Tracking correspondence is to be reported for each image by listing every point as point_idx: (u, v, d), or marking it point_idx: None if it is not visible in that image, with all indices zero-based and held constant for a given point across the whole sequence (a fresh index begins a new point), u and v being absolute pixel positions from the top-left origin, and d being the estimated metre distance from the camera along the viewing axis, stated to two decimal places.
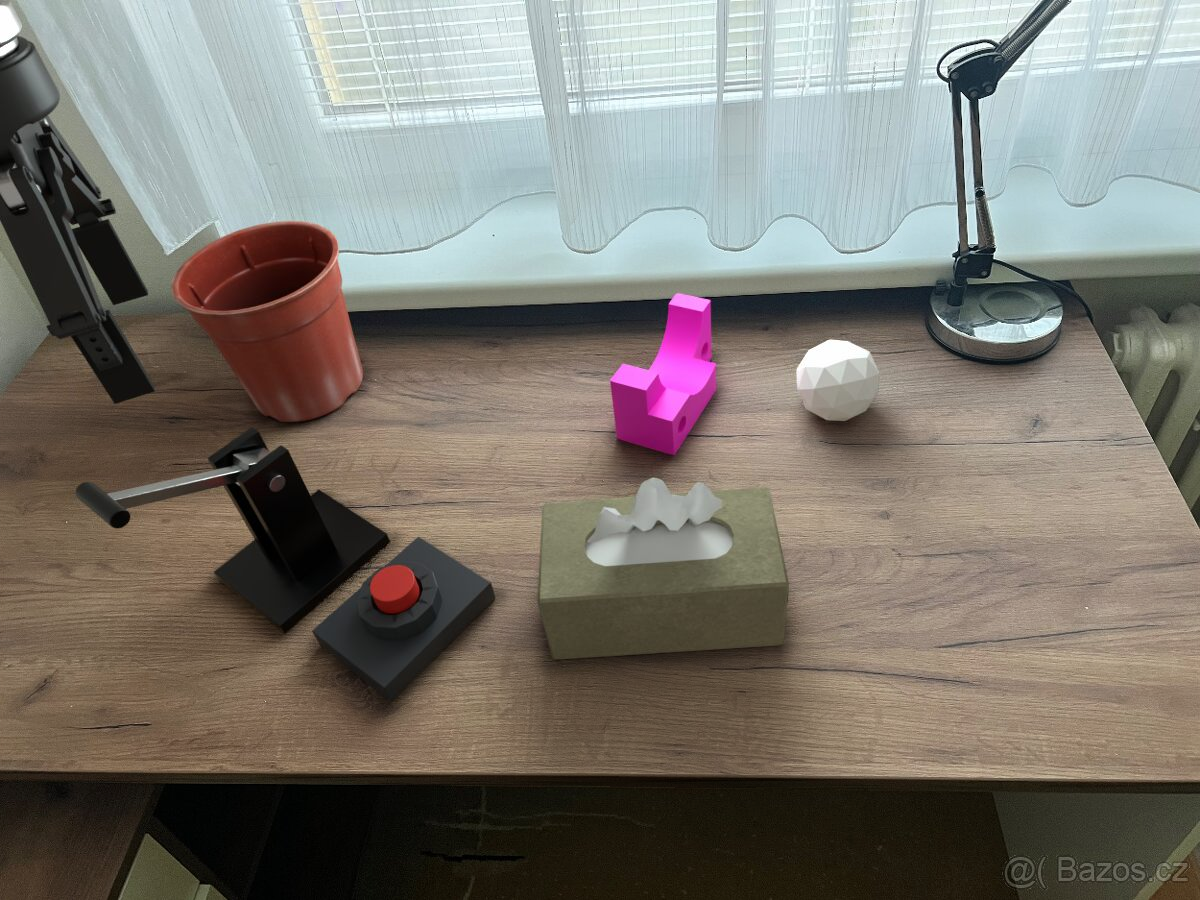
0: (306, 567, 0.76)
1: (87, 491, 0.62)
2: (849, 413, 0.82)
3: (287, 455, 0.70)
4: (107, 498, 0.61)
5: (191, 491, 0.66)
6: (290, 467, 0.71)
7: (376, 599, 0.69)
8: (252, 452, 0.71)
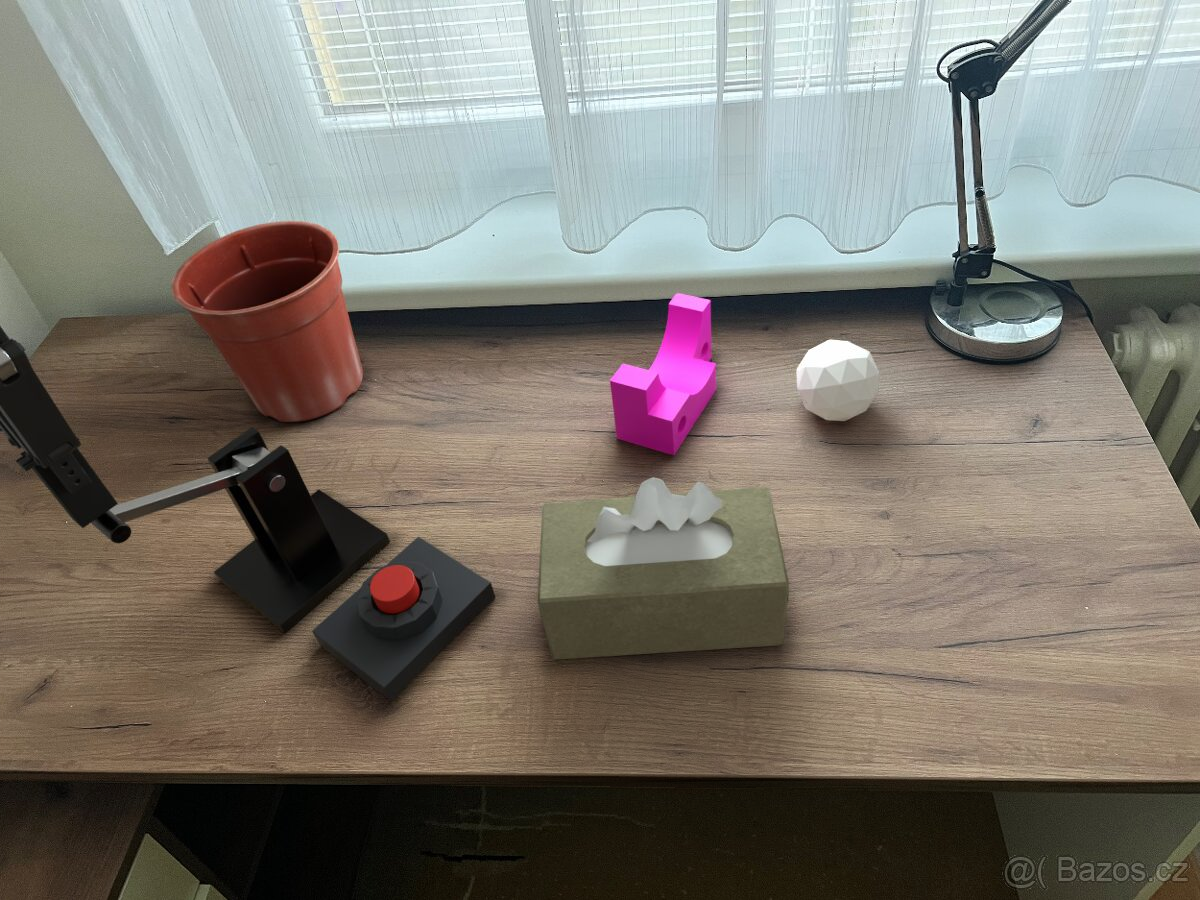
0: (306, 567, 0.76)
1: None
2: (849, 413, 0.82)
3: (287, 455, 0.70)
4: (107, 513, 0.62)
5: (192, 498, 0.67)
6: (290, 467, 0.71)
7: (376, 599, 0.69)
8: (251, 452, 0.71)
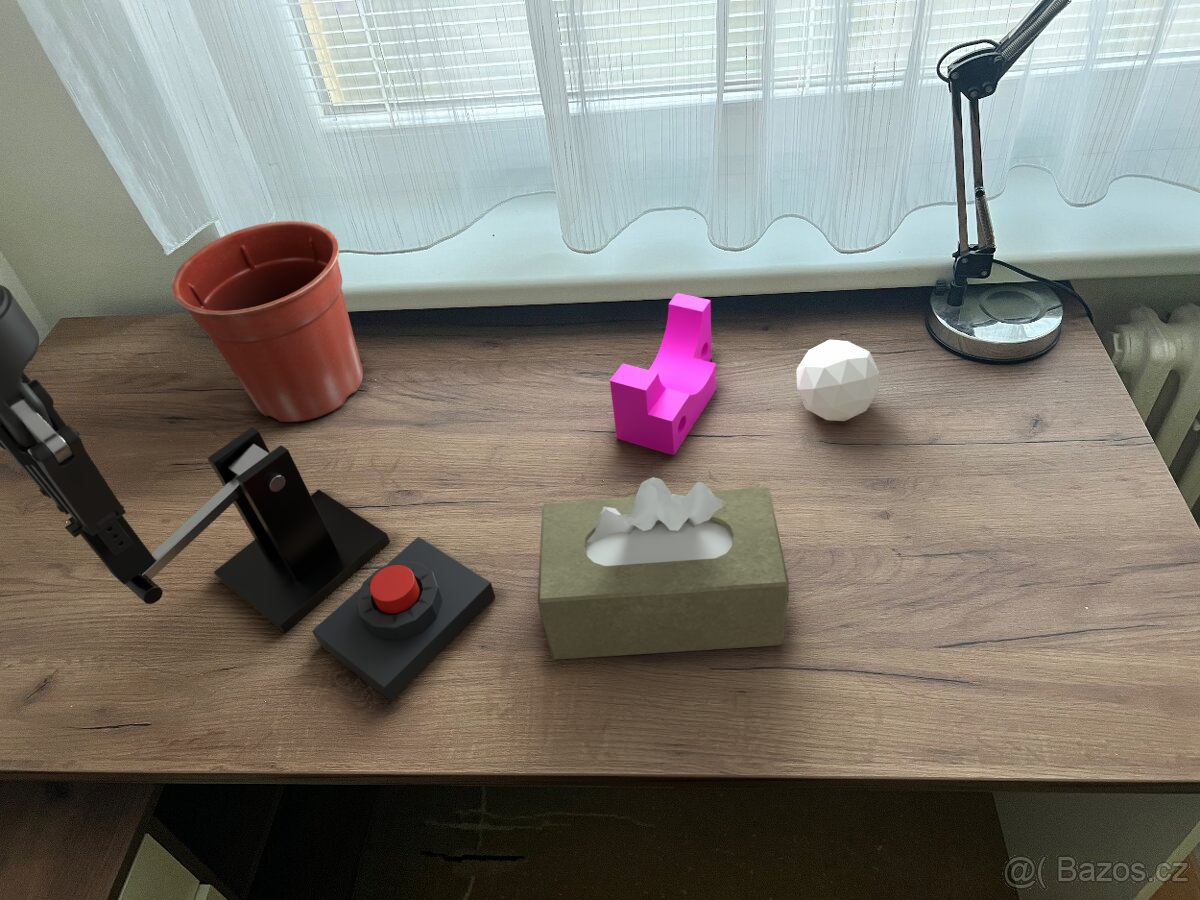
0: (306, 567, 0.76)
1: None
2: (849, 413, 0.82)
3: (287, 455, 0.70)
4: (135, 578, 0.65)
5: (206, 525, 0.69)
6: (290, 467, 0.71)
7: (376, 599, 0.69)
8: (244, 456, 0.71)
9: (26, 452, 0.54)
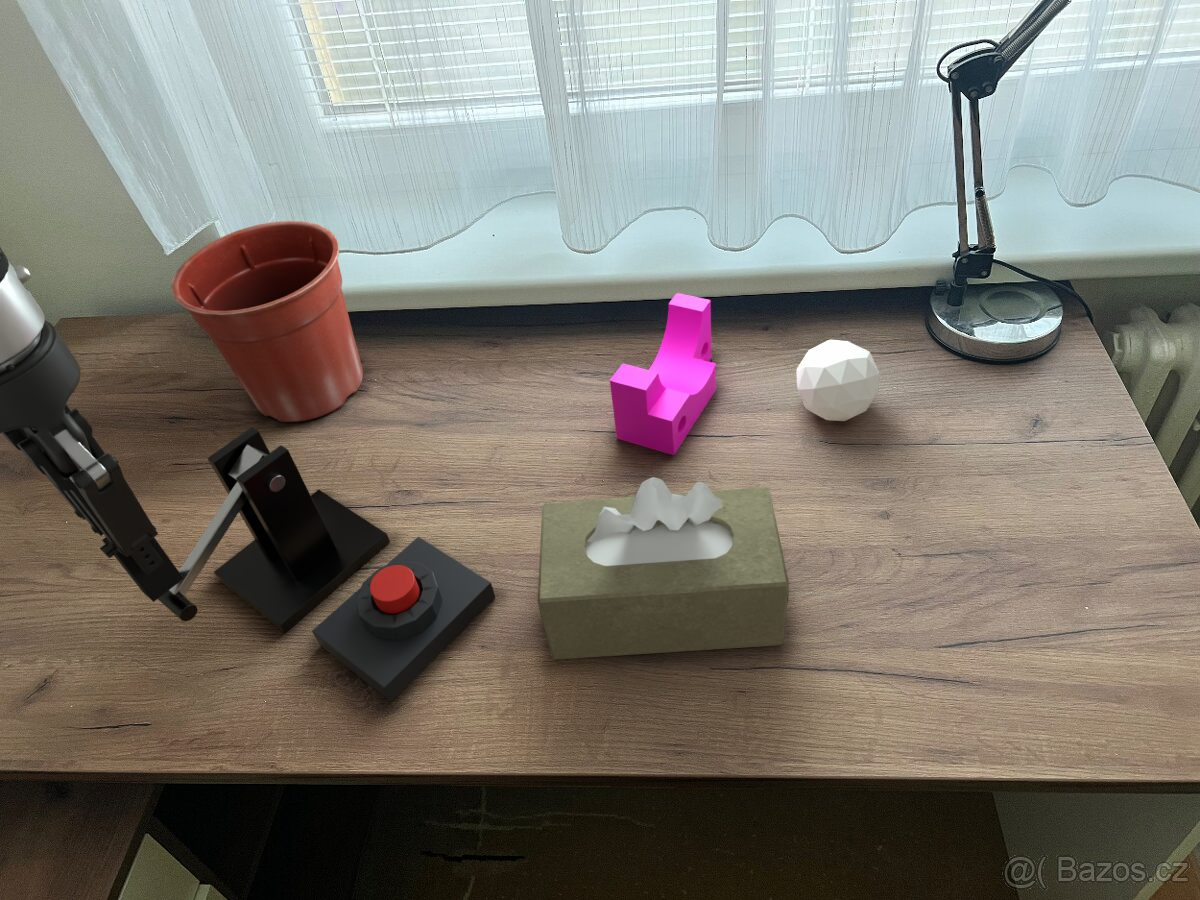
0: (306, 567, 0.76)
1: None
2: (849, 413, 0.82)
3: (287, 455, 0.70)
4: (169, 598, 0.69)
5: (222, 534, 0.70)
6: (290, 467, 0.71)
7: (376, 599, 0.69)
8: (240, 460, 0.70)
9: (66, 478, 0.57)
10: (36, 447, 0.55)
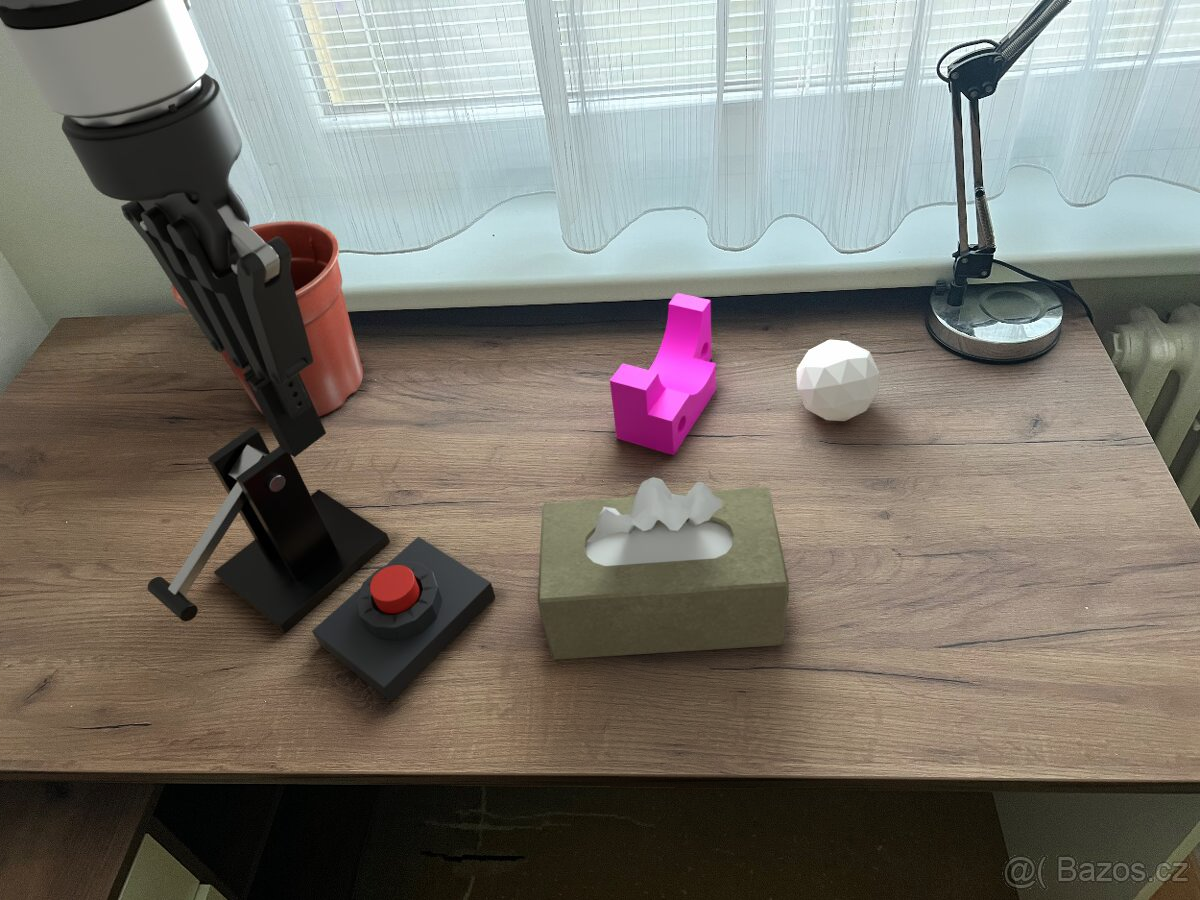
0: (306, 567, 0.76)
1: (155, 594, 0.70)
2: (849, 413, 0.82)
3: (287, 455, 0.70)
4: (169, 599, 0.69)
5: (222, 534, 0.70)
6: (290, 467, 0.71)
7: (376, 599, 0.69)
8: (240, 460, 0.70)
9: (219, 277, 0.47)
10: (190, 230, 0.45)
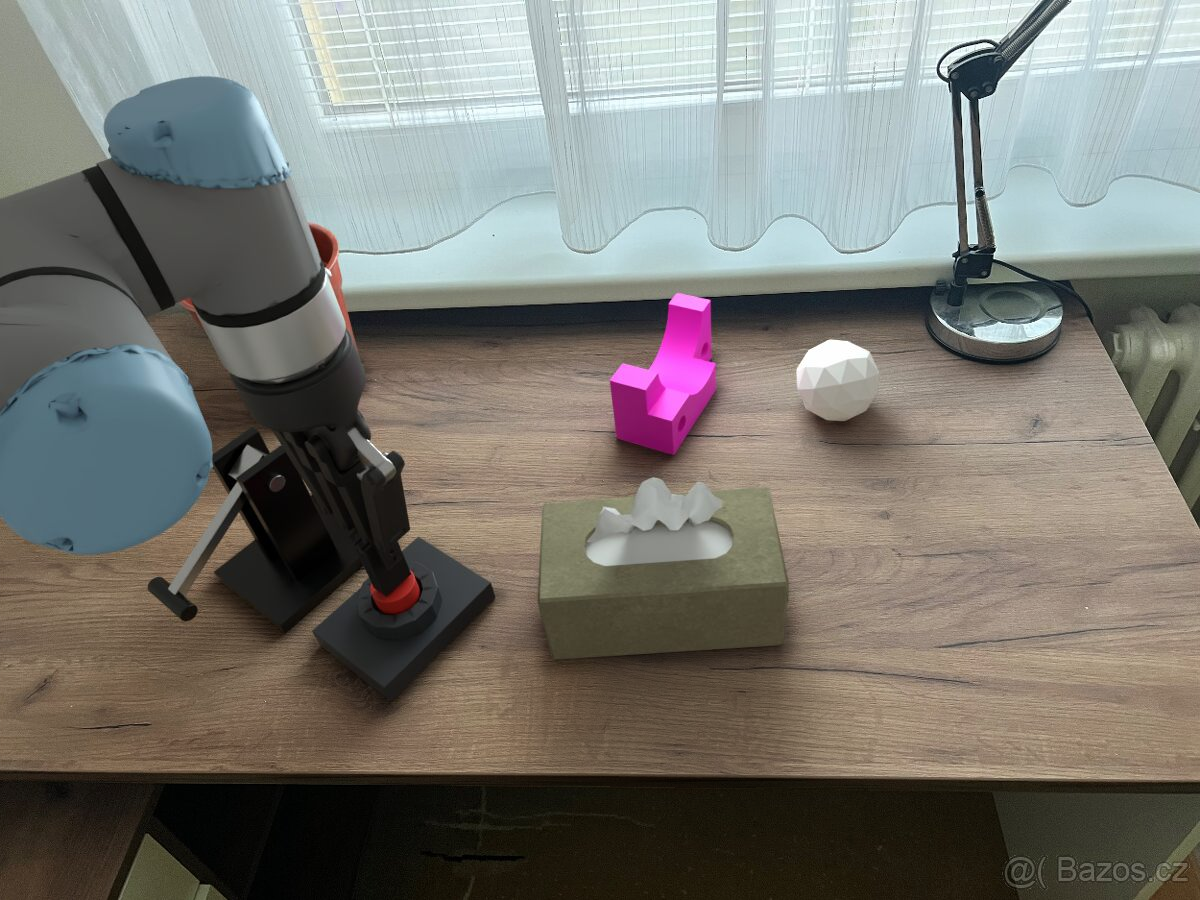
0: (306, 567, 0.76)
1: (155, 594, 0.70)
2: (849, 413, 0.82)
3: (287, 455, 0.70)
4: (169, 599, 0.69)
5: (222, 534, 0.70)
6: (290, 467, 0.71)
7: (376, 600, 0.69)
8: (240, 460, 0.70)
9: (341, 475, 0.58)
10: (323, 445, 0.56)
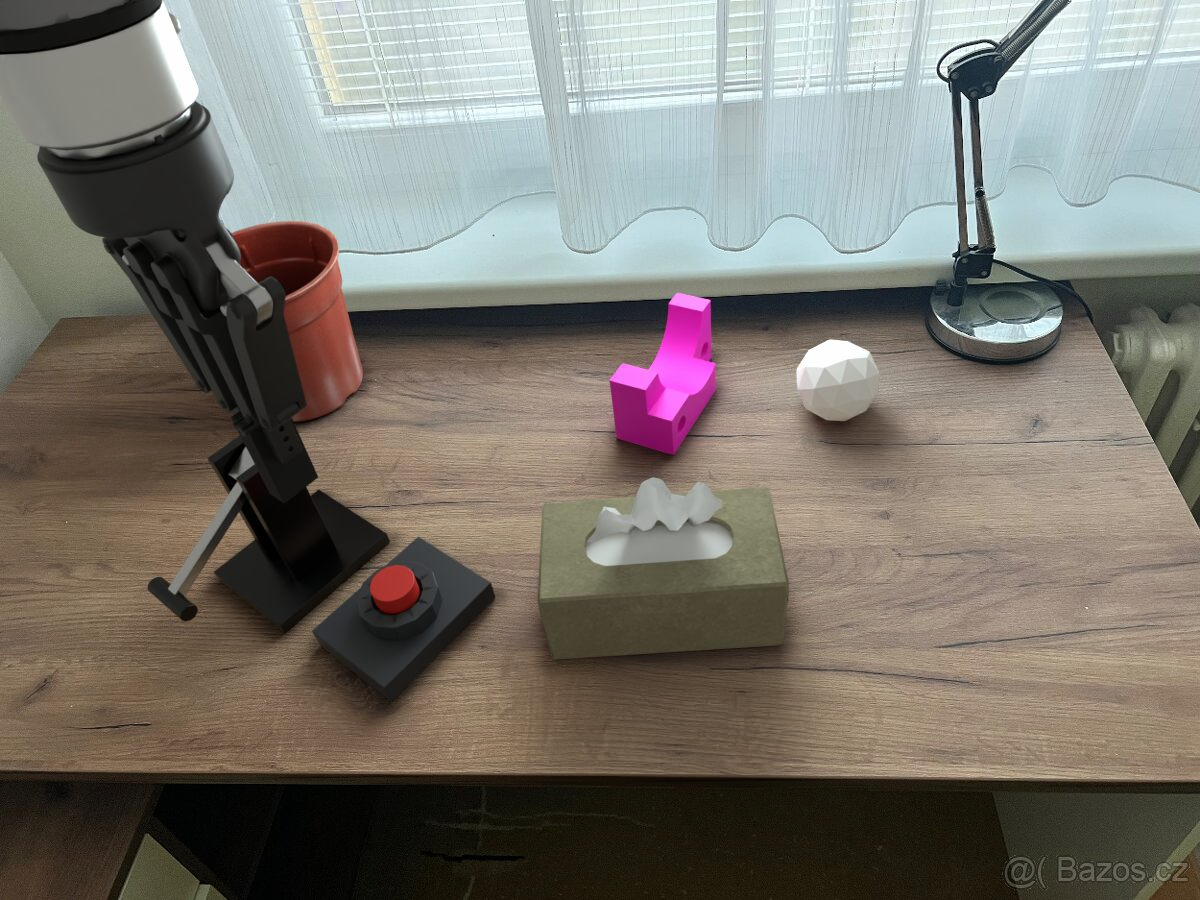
0: (306, 567, 0.76)
1: (155, 594, 0.70)
2: (849, 413, 0.82)
3: None
4: (169, 599, 0.69)
5: (222, 534, 0.70)
6: None
7: (376, 599, 0.69)
8: (240, 460, 0.70)
9: (206, 318, 0.44)
10: (176, 268, 0.42)
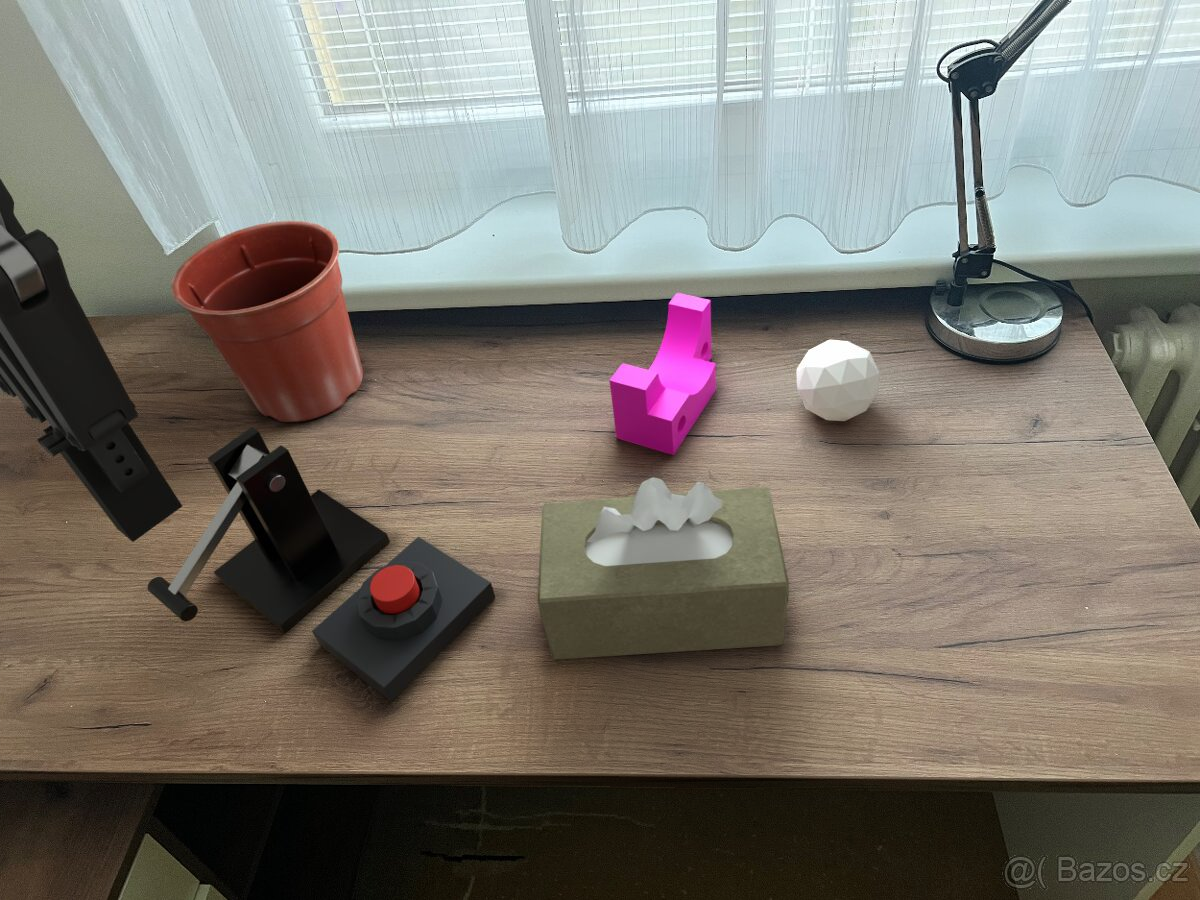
0: (306, 567, 0.76)
1: (155, 594, 0.70)
2: (849, 413, 0.82)
3: (287, 455, 0.70)
4: (169, 599, 0.69)
5: (222, 534, 0.70)
6: (290, 467, 0.71)
7: (376, 599, 0.69)
8: (240, 460, 0.70)
9: None
10: None
